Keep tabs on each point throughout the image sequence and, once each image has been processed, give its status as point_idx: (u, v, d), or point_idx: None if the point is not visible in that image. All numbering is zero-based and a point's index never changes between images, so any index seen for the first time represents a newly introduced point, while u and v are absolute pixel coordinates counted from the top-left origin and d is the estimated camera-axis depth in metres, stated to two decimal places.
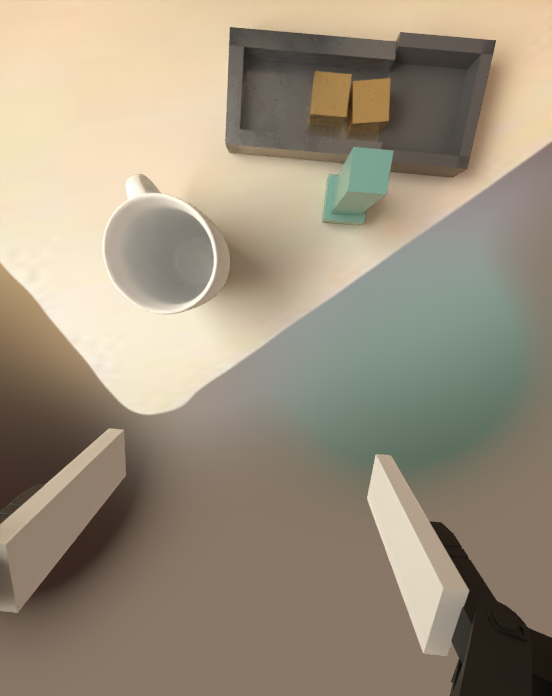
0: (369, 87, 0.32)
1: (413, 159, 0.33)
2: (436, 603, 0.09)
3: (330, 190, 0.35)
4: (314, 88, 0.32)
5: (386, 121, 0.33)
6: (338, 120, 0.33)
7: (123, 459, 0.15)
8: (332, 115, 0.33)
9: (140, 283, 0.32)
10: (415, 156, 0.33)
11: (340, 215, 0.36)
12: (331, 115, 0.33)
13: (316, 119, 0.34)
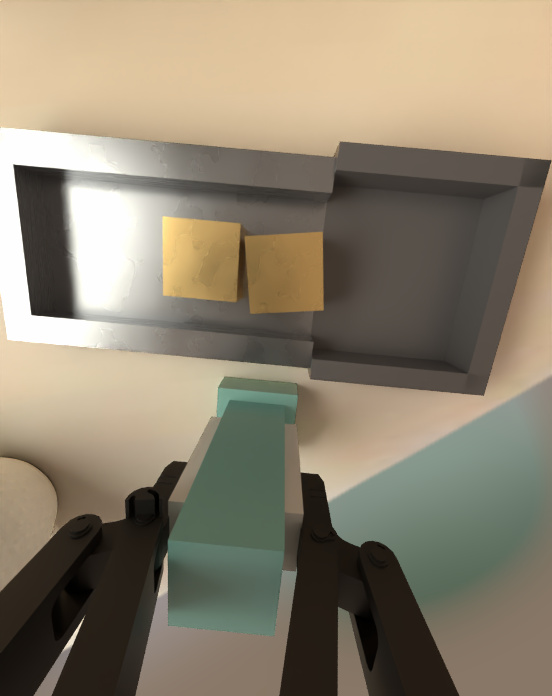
0: (279, 249, 0.15)
1: (376, 377, 0.17)
2: None
3: (222, 413, 0.19)
4: (165, 249, 0.15)
5: (319, 309, 0.16)
6: None
7: None
8: (208, 298, 0.16)
9: None
10: (380, 372, 0.17)
11: None
12: (206, 298, 0.16)
13: None
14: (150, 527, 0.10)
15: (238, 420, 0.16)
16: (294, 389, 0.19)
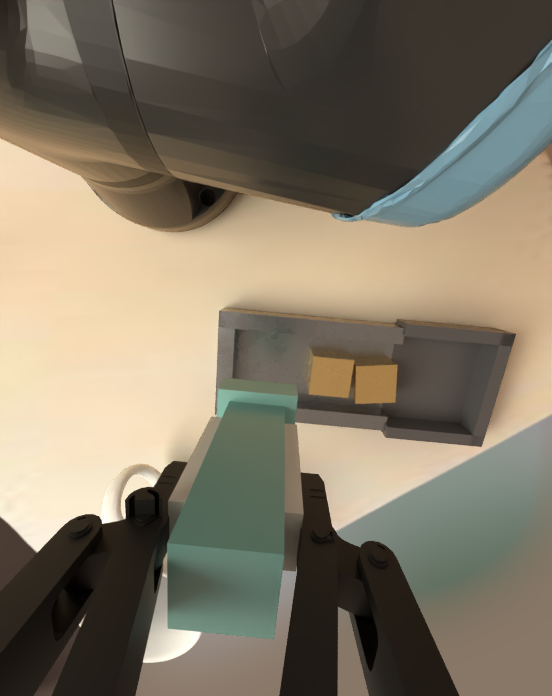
0: (373, 372, 0.29)
1: (422, 437, 0.30)
2: None
3: (222, 414, 0.19)
4: (313, 371, 0.29)
5: None
6: None
7: None
8: (333, 395, 0.29)
9: None
10: (424, 434, 0.30)
11: None
12: (332, 395, 0.30)
13: None
14: (150, 527, 0.10)
15: (238, 421, 0.16)
16: (294, 390, 0.19)
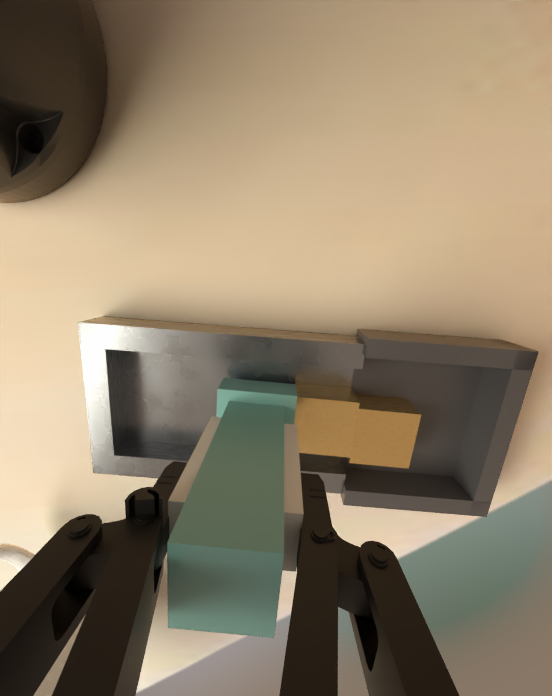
0: (384, 421, 0.19)
1: (398, 504, 0.20)
2: None
3: (222, 414, 0.19)
4: (296, 419, 0.19)
5: None
6: None
7: None
8: (327, 454, 0.20)
9: None
10: (401, 499, 0.20)
11: None
12: (325, 454, 0.20)
13: None
14: (150, 527, 0.10)
15: (237, 421, 0.16)
16: (293, 390, 0.19)
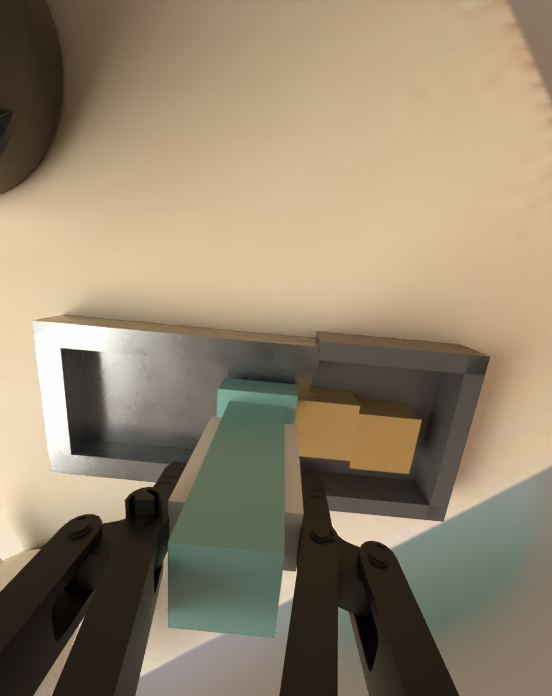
0: (384, 426, 0.19)
1: (354, 507, 0.20)
2: None
3: (222, 414, 0.19)
4: (296, 422, 0.19)
5: None
6: None
7: None
8: (327, 457, 0.19)
9: None
10: (358, 503, 0.20)
11: None
12: (325, 457, 0.19)
13: None
14: (150, 527, 0.10)
15: (237, 421, 0.16)
16: (294, 390, 0.19)
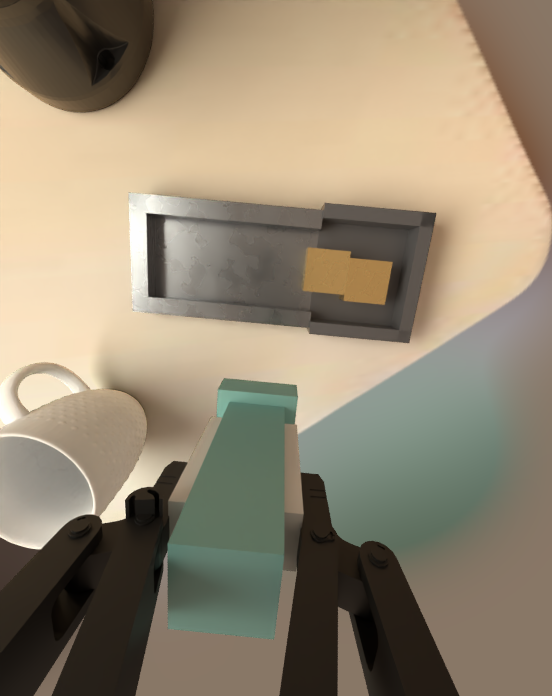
0: (367, 267, 0.27)
1: (347, 332, 0.29)
2: None
3: (222, 415, 0.19)
4: (307, 265, 0.28)
5: (382, 304, 0.28)
6: None
7: None
8: (328, 292, 0.28)
9: (27, 487, 0.27)
10: (349, 329, 0.29)
11: None
12: (327, 292, 0.28)
13: None
14: (150, 527, 0.10)
15: (238, 422, 0.16)
16: (294, 391, 0.19)
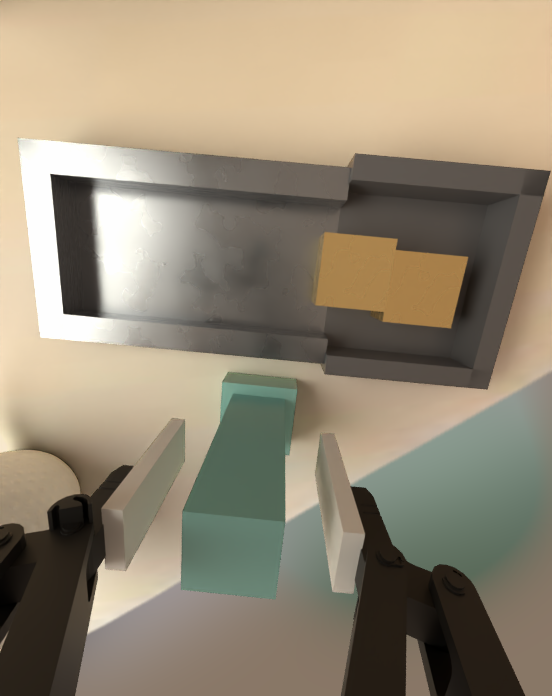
0: (424, 266, 0.16)
1: (386, 372, 0.18)
2: (339, 546, 0.10)
3: (226, 406, 0.20)
4: (323, 262, 0.16)
5: None
6: None
7: (183, 446, 0.17)
8: (357, 308, 0.17)
9: None
10: (390, 367, 0.18)
11: None
12: (355, 308, 0.17)
13: None
14: (79, 535, 0.09)
15: (241, 411, 0.17)
16: (294, 384, 0.20)
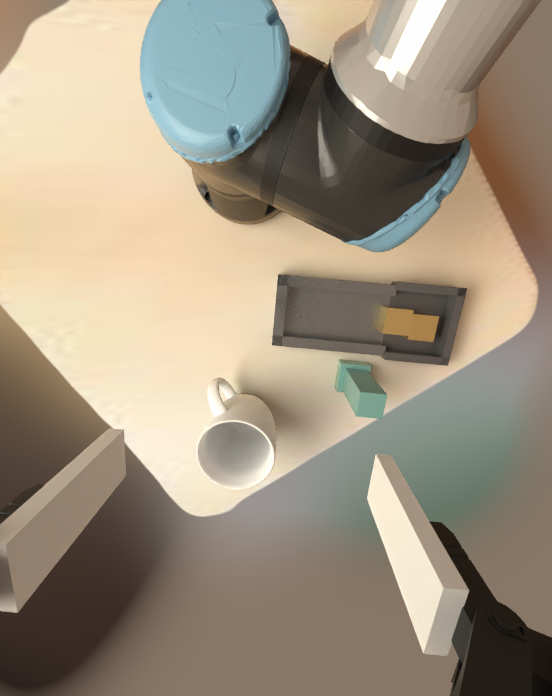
0: (423, 319, 0.45)
1: (408, 359, 0.46)
2: (436, 603, 0.09)
3: (342, 373, 0.48)
4: (386, 318, 0.45)
5: (431, 341, 0.46)
6: None
7: (123, 459, 0.15)
8: (398, 334, 0.45)
9: (213, 455, 0.44)
10: (410, 357, 0.46)
11: None
12: (397, 334, 0.45)
13: None
14: None
15: (354, 373, 0.46)
16: (369, 364, 0.49)
